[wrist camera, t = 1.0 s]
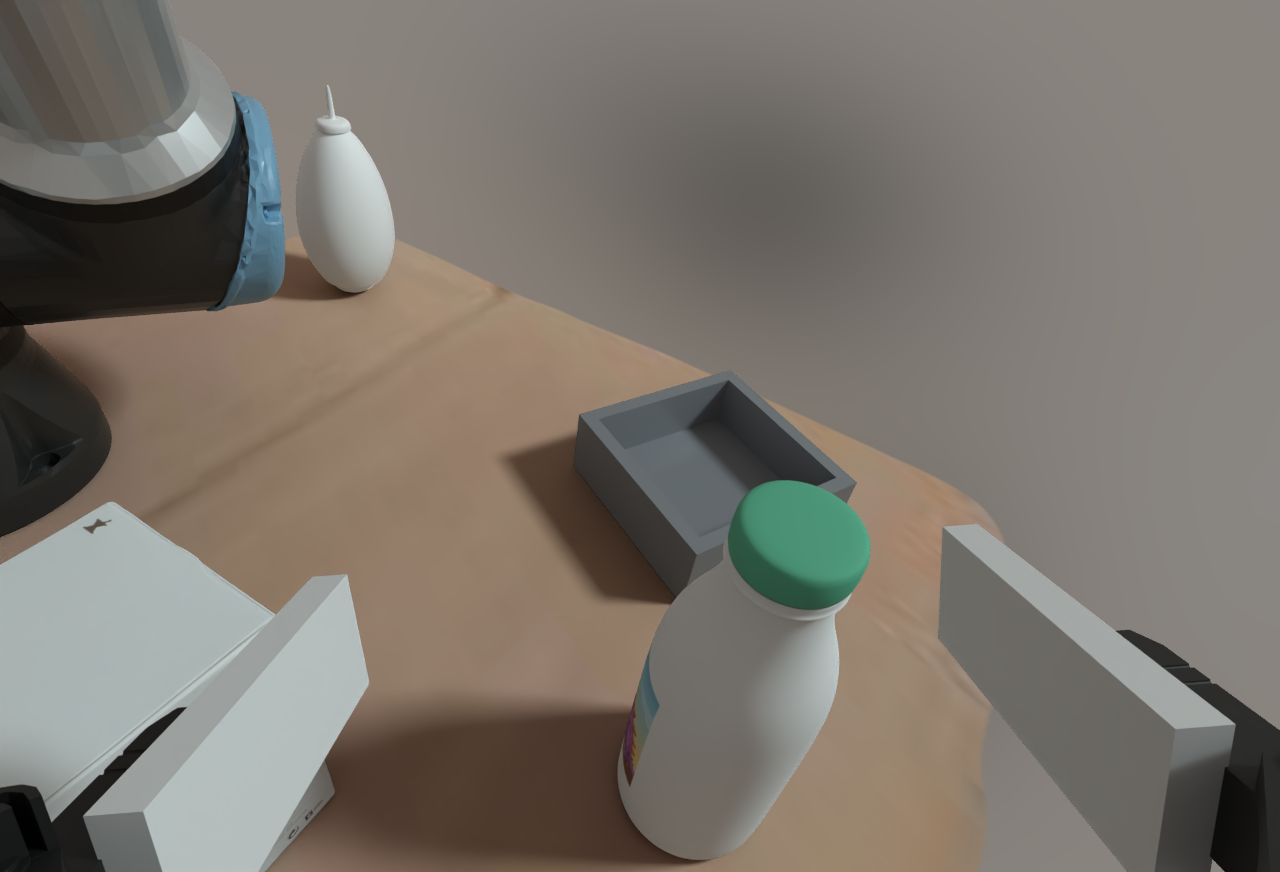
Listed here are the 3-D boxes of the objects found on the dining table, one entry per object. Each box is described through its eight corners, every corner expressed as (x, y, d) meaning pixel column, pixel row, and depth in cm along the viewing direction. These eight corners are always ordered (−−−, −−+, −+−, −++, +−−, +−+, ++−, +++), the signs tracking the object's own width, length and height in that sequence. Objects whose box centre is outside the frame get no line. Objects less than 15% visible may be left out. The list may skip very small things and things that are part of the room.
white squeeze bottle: (414, 295, 66) (399, 95, 55) (336, 318, 62) (301, 105, 50) (372, 260, 70) (349, 66, 58) (295, 280, 65) (253, 73, 54)
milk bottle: (792, 790, 36) (964, 543, 23) (692, 904, 32) (836, 676, 19) (687, 683, 40) (784, 418, 27) (584, 771, 35) (641, 503, 22)
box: (573, 465, 52) (579, 414, 49) (717, 417, 59) (730, 370, 56) (681, 604, 44) (697, 554, 41) (833, 530, 51) (856, 482, 47)
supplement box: (18, 856, 29) (-216, 670, 20) (214, 692, 36) (111, 490, 26) (158, 998, 27) (-32, 864, 17) (343, 793, 33) (283, 610, 23)
